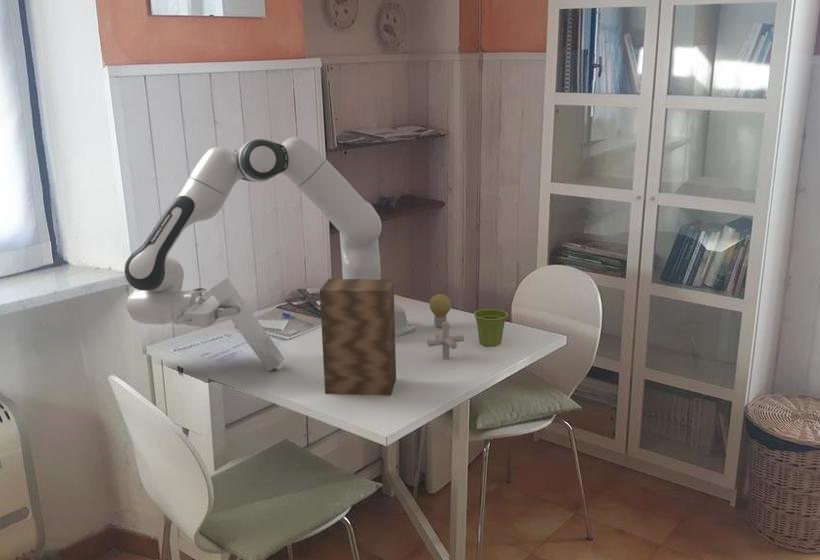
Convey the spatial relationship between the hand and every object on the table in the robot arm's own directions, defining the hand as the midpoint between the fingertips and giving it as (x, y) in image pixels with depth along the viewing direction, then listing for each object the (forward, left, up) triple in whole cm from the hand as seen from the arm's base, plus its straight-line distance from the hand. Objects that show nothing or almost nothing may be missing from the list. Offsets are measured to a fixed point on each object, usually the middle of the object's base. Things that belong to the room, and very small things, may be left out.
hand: (241, 308), depth 200 cm
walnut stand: (-19, +29, -16) cm, 38 cm away
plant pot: (-64, +24, -17) cm, 70 cm away
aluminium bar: (0, 0, -6) cm, 6 cm away
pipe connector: (-47, +26, -17) cm, 56 cm away
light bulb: (-61, +4, -17) cm, 63 cm away
